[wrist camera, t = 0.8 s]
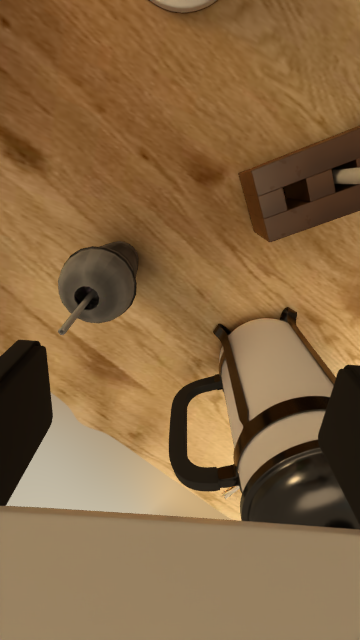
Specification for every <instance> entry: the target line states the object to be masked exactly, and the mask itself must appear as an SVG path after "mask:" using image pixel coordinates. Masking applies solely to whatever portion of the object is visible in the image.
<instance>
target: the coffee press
mask: <svg viewBox="0 0 360 640" xmlns="http://www.w3.org/2000/svg"><path fill="white" fill-rule="evenodd" d="M296 317H297V312H295V311H294V310H292V309H290V308H289V307H287V308H285V309H284V310H283V312H282V314H281V317H280V320H278V319H271V318H262V319H256V320H252V321H249V322H246V323H244V324H242V325H241V326H239V327H237V328H236V329H235V330H234V331H233V332H231V331H229V330H228V329H227V328H226V327H225V326H223V325H222V324H218V325H217V327H216V328H215V330H214V331H213V333H214V334H215V335H216V336H217V337H218V338H219V340H220V341H221V343H222V348H221V351H220V356H219V374H217V375H214V376H212V377H208V378H204V379H200V380H197V381H195V382H192V383H190V384H188V385H186V386H185V387H183V388H182V389H181V390H180V391H179V392H178V393H177V394H176V396H175V398H174V400H173V403H172V408H171V418H170V432H169V457H170V462H171V465H172V468H173V470H174V472H175V474H176V476H177V478H178V479H179V481H181V482H182V483H183V484H184V485H185V486H187V487H188V488H191V489H194V490H198V491H217V490H220V488H222V487H223V488H227V487H233V486H239V487H240V490H241V492H242V497H241V502H240V513H241V519H242V521H250V522H264V523H278V524H291V525H305V526H318V527H331V528H344V529H358V530H360V525H359V523H358V521H357V519H356V517H355V515H354V513H353V511H352V509H351V507H350V505H349V503H348V501H347V499H346V498H345V496H344V494H343V492H342V490H341V488H340V486H339V484H338V482H337V480H336V478H335V476H334V474H333V472H332V470H331V468H330V466H329V464H328V462H327V460H326V458H325V456H324V454H323V452H322V450H321V448H320V446H319V443H318V433H319V430H320V427H321V424H322V421H323V417H324V414H325V411H326V408H327V405H328V402H329V399H330V396H331V392H332V389H333V386H334V383H335V380H336V377H335V376H334V375H333V373H332V372H331V371H330V369H329V368H328V367H327V365H326V364H325V363H324V362H323V360H322V359H321V358H320V356H319V355H318V354H317V352H316V351H315V350H314V349H313V347H312V346H311V345H310V343H309V342H308V341H307V339H306V338H305V337H304V336H303V334H302V333H301V332H300V330H299V329H298V327H297V326H296ZM288 323H289V324H288ZM221 377H222V378H221ZM222 382H223V383H222ZM216 389H217V390H221V389H223V391H224V394H225V399H226V405H227V410H228V416H229V422H230V427H231V433H232V438H233V444H234V464H233V465H230V466H225V467H220V468H216V467H210V468H205V467H198V466H196V465H194V464H193V463H191V462H190V460H189V459H188V457H187V406H188V404H189V402H190V401H191V399H192V398H194V397H195V396H196V395H198V394H201V393H204V392H207V391H211V390H216ZM238 472H239V473H238Z"/></svg>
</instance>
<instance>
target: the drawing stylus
mask: <svg viewBox="0 0 360 640" xmlns="http://www.w3.org/2000/svg"><path fill="white" fill-rule="evenodd" d="M332 174H333V180H334V184H360V167H359V168H349V169H338V170H332Z"/></svg>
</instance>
